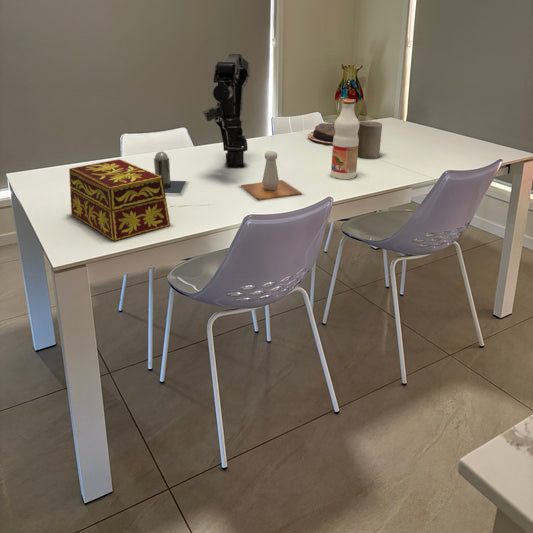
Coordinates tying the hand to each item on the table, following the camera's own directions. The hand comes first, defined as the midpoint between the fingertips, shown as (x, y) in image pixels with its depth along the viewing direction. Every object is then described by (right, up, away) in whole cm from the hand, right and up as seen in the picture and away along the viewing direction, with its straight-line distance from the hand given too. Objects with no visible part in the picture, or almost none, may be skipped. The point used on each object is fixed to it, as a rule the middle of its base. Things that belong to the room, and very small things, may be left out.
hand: (227, 143), depth 213 cm
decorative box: (-30, -31, -35) cm, 55 cm away
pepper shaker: (-22, -17, -7) cm, 28 cm away
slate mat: (-22, -17, -7) cm, 29 cm away
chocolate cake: (+48, +15, +62) cm, 80 cm away
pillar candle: (+57, +2, +35) cm, 67 cm away
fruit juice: (+43, -11, +9) cm, 45 cm away
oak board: (+16, -18, -8) cm, 25 cm away
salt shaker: (+16, -18, -8) cm, 25 cm away
